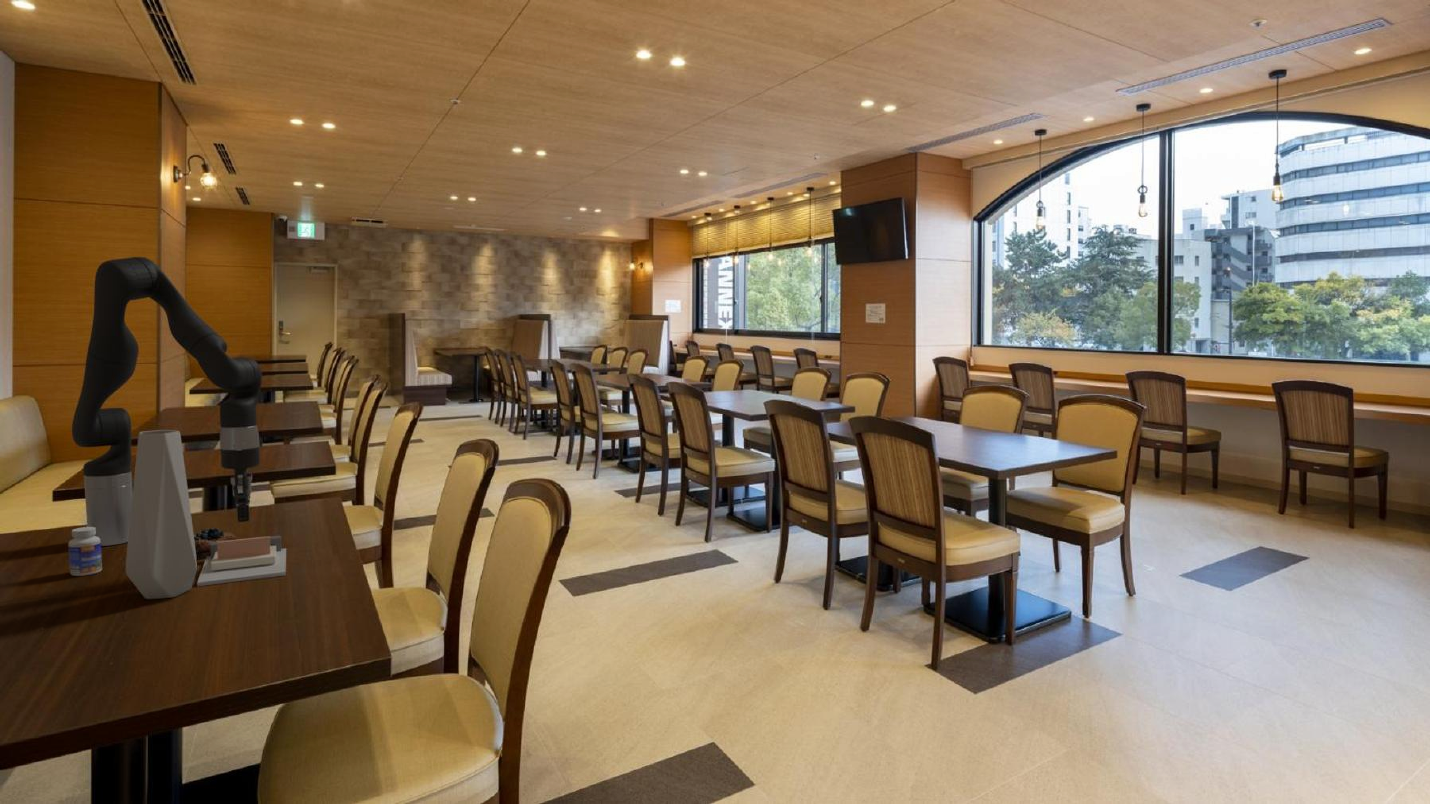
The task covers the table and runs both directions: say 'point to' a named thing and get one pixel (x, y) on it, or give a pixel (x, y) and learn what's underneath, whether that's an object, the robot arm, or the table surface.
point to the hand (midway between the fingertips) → (243, 521)
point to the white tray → (244, 572)
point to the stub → (243, 553)
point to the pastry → (209, 541)
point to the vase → (160, 519)
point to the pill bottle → (85, 552)
